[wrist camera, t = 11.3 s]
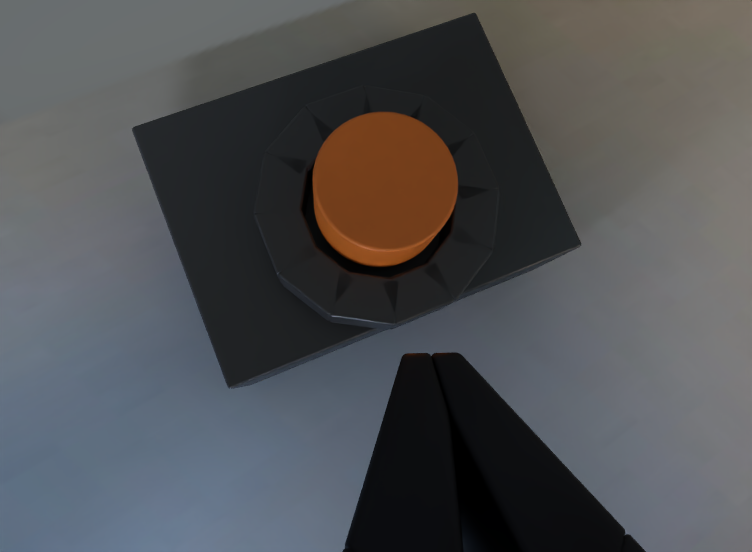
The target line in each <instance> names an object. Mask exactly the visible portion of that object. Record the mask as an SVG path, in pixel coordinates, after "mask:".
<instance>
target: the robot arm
mask: <svg viewBox="0 0 752 552" xmlns="http://www.w3.org/2000/svg"><path fill="white" fill-rule="evenodd" d="M624 535H625V530H624V528H623V527H622V526H621V525H620V524H619V523H618V522H617V521H616V520H615V519H614V517H613V516H612V515H611V514H610V513H609V512H608V511H607V510H606V509H605V508H604V507H603V506H602V505H601V504H600V502H599V501H598V500H597V499H596V498H595V497H594V496H593V495H592V494H591V493H590V492H589V491H588V490H587V489H586V487H585V486H584V485H583V484H582V483H581V482H580V481H579V480H578V479H577V478H576V477H575V476H574V475H573V474H572V472H571V471H570V470H569V469H568V468H567V467H566V466H565V465H564V464H563V463H562V462H561V461H560V460H559V459H558V458H557V456H556V455H555V454H554V453H553V452H552V451H551V450H550V449H549V448H548V447H547V446H546V445H545V444H544V443H543V441H542V440H541V439H540V438H539V437H538V436H537V435H536V434H535V433H534V432H533V431H532V430H531V429H530V428H529V426H528V425H527V424H526V423H525V422H524V421H523V420H522V419H521V418H520V417H519V416H518V415H517V414H516V413H515V411H514V410H513V409H512V408H511V407H510V406H509V405H508V404H507V403H506V402H505V401H504V400H503V399H502V398H501V397H500V395H499V394H498V393H497V392H496V391H495V390H494V389H493V388H492V387H491V386H490V385H489V384H488V383H487V382H486V380H485V379H484V378H483V377H482V376H481V375H480V374H479V373H478V372H477V371H476V370H475V369H474V368H473V367H472V365H471V364H470V363H469V362H468V361H467V360H466V359H465V358H464V357H463V356H462V355H461V354H459V353H434V354H433V355H432V356H430V355H429V354H428V353H408V354H404V355H403V356H402V358H401V361H400V365H399V368H398V371H397V375H396V378H395V381H394V384H393V388H392V391H391V394H390V398H389V401H388V404H387V408H386V411H385V414H384V418H383V421H382V424H381V427H380V431H379V434H378V437H377V441H376V444H375V447H374V451H373V454H372V457H371V460H370V464H369V467H368V470H367V474H366V477H365V480H364V484H363V487H362V490H361V493H360V497H359V500H358V503H357V507H356V510H355V513H354V517H353V520H352V523H351V527H350V530H349V533H348V536H347V540H346V543H345V549H344V550H343V552H646V551H645V550H644V549H643V548H642V547H641V546H640V545H639V544H638V543H637V542H636V541H635V540H634V539H633V537H632V536H631V535H629V534H626V535H625V536H624Z"/></svg>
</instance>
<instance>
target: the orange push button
mask: <svg viewBox="0 0 752 552" xmlns="http://www.w3.org/2000/svg"><path fill="white" fill-rule="evenodd" d="M312 179H313V197H314V212H315V217H316V221H317V224H318V227H319V229H320V231H321V233H322V235H323V236H324V238H325V239H326V241H327V242H328V243H329V244H330V246H331V247H332V248H333V249H334V250H335V251H337V252H338V253H339V254H340V255H342V256H343V257H345V258H346V259H348V260H350V261H352V262H355V263H358V264H360V265H364V266H369V267H390V266H395V265H398V264H401V263H404V262H406V261H408V260H410V259H412V258H414V257H415V256H417V255H418V254H419V253H420V252H422V251H423V250H424V249H425V248H426V247H427V246H428V244H429V243H430V242H431V241H432V240H433V238H434V237H435V236H436V235H437V234H438V232H439V231H440V230H441V229H442V227H443V226H444V225H445V223H446V222H447V220H448V219H449V217H450V215H451V213H452V211H453V209H454V206H455V203H456V199H457V193H458V176H457V170H456V166H455V163H454V160H453V157H452V155H451V153H450V151H449V149H448V147H447V146H446V145H445V143H444V142H443V140H442V139H441V138H440V137H439V136H438V135H437V134H436V133H435V132H434V131H433V130H432V129H431V128H430V127H428V126H427V125H425V124H424V123H422V122H421V121H419V120H417V119H415V118H412V117H410V116H407V115H404V114H399V113H395V112H373V113H367V114H363V115H360V116H357V117H355V118H352V119H350V120H348V121H347V122H345V123H343V124H342V125H340V126H339V127H338V128H337V129H335V130H334V131H333V132H332V133H331V134H330V135H329V136H328V138H327V139H326V140H325V142H324V143H323V145H322V147H321V148H320V150H319V152H318V155H317V157H316V160H315V164H314V169H313V178H312Z"/></svg>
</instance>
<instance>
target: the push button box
mask: <svg viewBox="0 0 752 552" xmlns="http://www.w3.org/2000/svg"><path fill="white" fill-rule="evenodd" d="M373 112H395V113H399V114H404V115H407V116H410V117H412V118H415V119H417V120H419V121H421V122H422V123H424V124H425V125H427V126H428V127H430V128H431V129H432V130H433V131H434V132H435V133H436V134H437V135H438V136H439V137H440V138H441V139H442V140H443V142H444V143H445V145H446V146H447V147H448V149H449V151H450V153H451V155H452V157H453V160H454V163H455V166H456V170H457V176H458V193H457V199H456V203H455V206H454V209H453V211H452V213H451V215H450V217H449V219H448V220H447V222H446V223H445V225H444V226H443V227H442V229H441V230H440V231H439V232H438V234H437V235H436V236H435V237H434V238H433V240H432V241H431V242H430V243H429V244H428V246H427V247H426V248H425V249H424V250H423V251H422V252H420V253H419V254H418V255H417V256H415V257H414V258H412V259H410V260H408V261H406V262H404V263H401V264H398V265H395V266H390V267H369V266H364V265H360V264H358V263H355V262H352V261H350V260H348V259H346V258H345V257H343V256H342V255H340V254H339V253H338V252H337V251H335V250H334V249H333V248H332V247H331V246H330V244H329V243H328V242H327V241H326V239H325V238H324V236H323V235H322V233H321V231H320V229H319V227H318V224H317V221H316V217H315V212H314V197H313V179H312V178H313V169H314V164H315V160H316V157H317V155H318V152H319V150H320V148H321V147H322V145H323V143H324V142H325V140H326V139H327V138H328V136H329V135H330V134H331V133H332V132H333V131H334V130H335V129H337V128H338V127H339V126H340V125H342V124H343V123H345V122H347V121H348V120H350V119H352V118H355V117H357V116H360V115H363V114H367V113H373ZM132 131H133V134H134V137H135V139H136V142H137V145H138V147H139V150H140V153H141V155H142V158H143V161H144V163H145V166H146V169H147V171H148V174H149V177H150V180H151V182H152V185H153V188H154V190H155V193H156V196H157V198H158V201H159V204H160V206H161V209H162V212H163V214H164V217H165V220H166V222H167V225H168V228H169V230H170V233H171V236H172V239H173V241H174V244H175V247H176V249H177V252H178V255H179V257H180V260H181V263H182V265H183V268H184V271H185V273H186V276H187V279H188V281H189V284H190V287H191V289H192V292H193V295H194V298H195V300H196V303H197V306H198V308H199V311H200V314H201V316H202V319H203V322H204V324H205V327H206V330H207V332H208V335H209V338H210V340H211V343H212V346H213V348H214V351H215V354H216V357H217V359H218V362H219V365H220V367H221V370H222V373H223V375H224V378H225V381H226V383H227V386H228V388H229V389H232V388H238V387H243V386H249V385H252V384H254V383H257V382H259V381H262V380H264V379H266V378H269V377H271V376H274V375H276V374H279V373H281V372H284V371H286V370H288V369H291V368H293V367H296V366H298V365H301V364H303V363H306V362H308V361H311V360H313V359H315V358H318V357H320V356H323V355H325V354H328V353H330V352H333V351H335V350H337V349H340V348H342V347H345V346H347V345H350V344H352V343H355V342H357V341H360V340H362V339H364V338H367V337H369V336H372V335H374V334H377V333H379V332H382V331H384V330H388V329H393V328H396V327H398V326H401V325H403V324H405V323H408V322H410V321H413V320H415V319H418V318H420V317H423V316H425V315H428V314H430V313H432V312H435V311H437V310H440V309H442V308H444V307H446V306H447V305H449V304H451V303H453V302H455V301H458V300H460V299H462V298H465V297H467V296H470V295H472V294H475V293H477V292H480V291H482V290H485V289H487V288H489V287H492V286H494V285H497V284H499V283H502V282H504V281H507V280H509V279H511V278H514V277H516V276H519V275H521V274H524V273H526V272H529V271H531V270H533V269H535V268H538V267H540V266H542V265H544V264H546V263H548V262H550V261H552V260H554V259H556V258H558V257H560V256H562V255H564V254H566V253H568V252H570V251H572V250H575V249H577V248H579V247H580V246H581V242H580V240H579V238H578V236H577V233H576V231H575V229H574V227H573V225H572V223H571V220H570V218H569V216H568V214H567V212H566V209H565V207H564V205H563V203H562V201H561V198H560V196H559V194H558V192H557V190H556V188H555V185H554V183H553V181H552V179H551V177H550V174H549V172H548V170H547V168H546V166H545V164H544V161H543V159H542V157H541V155H540V153H539V150H538V148H537V146H536V144H535V142H534V139H533V137H532V135H531V133H530V131H529V129H528V126H527V124H526V122H525V120H524V118H523V115H522V113H521V111H520V109H519V107H518V105H517V102H516V100H515V98H514V96H513V94H512V91H511V89H510V87H509V85H508V83H507V81H506V78H505V76H504V74H503V72H502V70H501V67H500V65H499V63H498V61H497V59H496V56H495V54H494V52H493V50H492V48H491V46H490V43H489V41H488V39H487V37H486V35H485V32H484V30H483V28H482V26H481V24H480V22H479V19H478V17H477V15H476V13H472V14H469V15H466V16H463V17H460V18H457V19H454V20H451V21H448V22H445V23H442V24H439V25H436V26H433V27H430V28H427V29H424V30H421V31H419V32H416V33H413V34H410V35H407V36H404V37H401V38H398V39H395V40H392V41H389V42H386V43H383V44H380V45H377V46H374V47H371V48H368V49H365V50H362V51H359V52H356V53H353V54H350V55H347V56H344V57H341V58H338V59H335V60H332V61H329V62H326V63H323V64H320V65H317V66H314V67H311V68H308V69H305V70H302V71H299V72H296V73H293V74H290V75H287V76H284V77H281V78H278V79H275V80H273V81H270V82H267V83H264V84H261V85H258V86H255V87H252V88H249V89H246V90H243V91H240V92H237V93H234V94H231V95H228V96H225V97H222V98H219V99H216V100H213V101H210V102H207V103H204V104H201V105H198V106H195V107H192V108H189V109H186V110H183V111H180V112H177V113H174V114H171V115H168V116H165V117H162V118H159V119H156V120H153V121H150V122H147V123H144V124H141V125H138V126H135V127H133V128H132Z"/></svg>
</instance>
